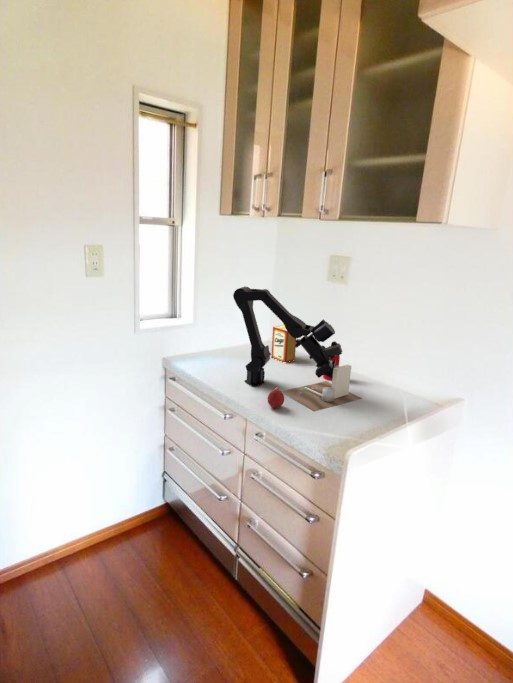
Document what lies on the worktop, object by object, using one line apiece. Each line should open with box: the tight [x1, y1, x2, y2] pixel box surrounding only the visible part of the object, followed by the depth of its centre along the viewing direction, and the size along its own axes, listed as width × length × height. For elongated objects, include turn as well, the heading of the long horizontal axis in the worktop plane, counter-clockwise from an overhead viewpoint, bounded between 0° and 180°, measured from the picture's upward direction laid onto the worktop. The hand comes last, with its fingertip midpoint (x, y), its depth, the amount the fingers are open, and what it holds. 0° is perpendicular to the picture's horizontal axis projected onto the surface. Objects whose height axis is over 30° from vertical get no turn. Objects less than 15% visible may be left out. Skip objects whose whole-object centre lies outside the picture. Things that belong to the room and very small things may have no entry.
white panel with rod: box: [305, 364, 352, 402], centre depth 156 cm, size 13×14×12 cm
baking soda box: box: [270, 324, 297, 363], centre depth 196 cm, size 10×6×16 cm
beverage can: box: [322, 355, 341, 382], centre depth 173 cm, size 6×6×12 cm
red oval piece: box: [267, 386, 285, 409], centre depth 143 cm, size 6×6×8 cm
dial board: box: [280, 380, 363, 412], centre depth 156 cm, size 24×20×1 cm
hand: (340, 380), depth 156 cm, fingers closed
